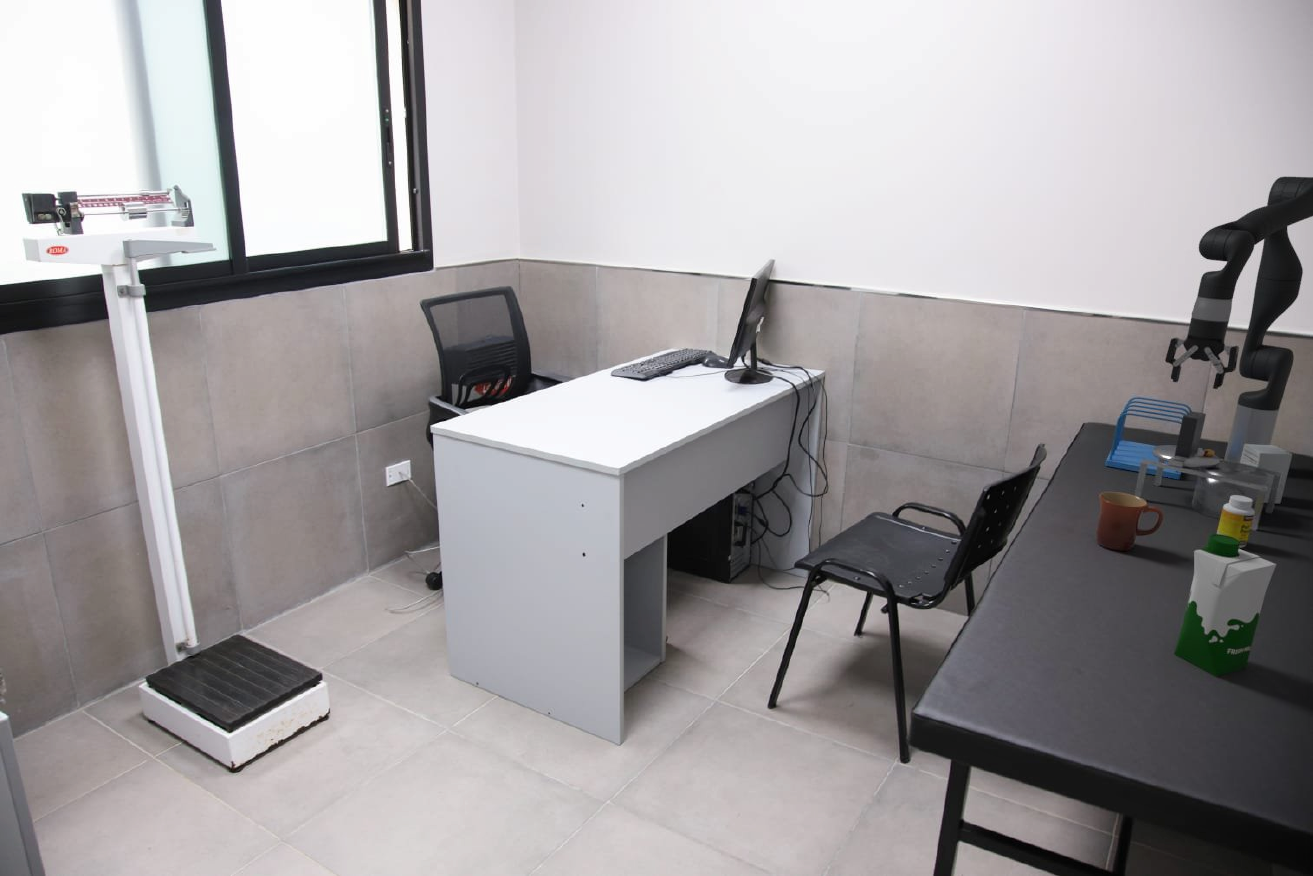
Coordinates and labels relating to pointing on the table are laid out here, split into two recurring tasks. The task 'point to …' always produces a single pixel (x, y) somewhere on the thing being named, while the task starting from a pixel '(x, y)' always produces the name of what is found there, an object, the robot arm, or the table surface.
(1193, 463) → the steel lid
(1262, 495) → the cooker pot
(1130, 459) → the file sorter
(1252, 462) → the supplement box
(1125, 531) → the mug
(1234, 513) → the supplement bottle
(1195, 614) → the milk carton
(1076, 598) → the table surface
